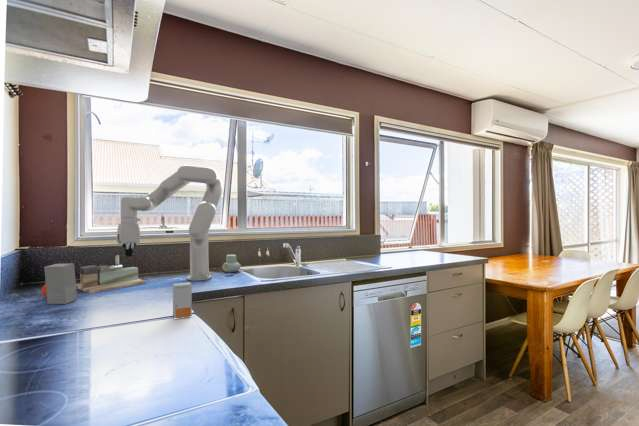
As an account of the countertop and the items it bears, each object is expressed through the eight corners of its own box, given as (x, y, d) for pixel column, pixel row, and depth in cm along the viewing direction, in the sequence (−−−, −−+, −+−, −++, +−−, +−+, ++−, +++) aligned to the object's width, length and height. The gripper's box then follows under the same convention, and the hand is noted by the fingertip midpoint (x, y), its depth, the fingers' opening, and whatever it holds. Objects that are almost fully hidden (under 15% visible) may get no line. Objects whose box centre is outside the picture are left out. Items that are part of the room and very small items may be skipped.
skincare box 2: (173, 320, 123) (173, 285, 122) (172, 316, 127) (172, 283, 126) (192, 317, 126) (191, 284, 125) (190, 314, 129) (190, 281, 129)
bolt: (122, 268, 178) (122, 254, 178) (100, 271, 170) (100, 257, 170) (120, 268, 179) (120, 254, 179) (99, 271, 172) (98, 256, 171)
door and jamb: (145, 283, 179) (145, 262, 179) (90, 293, 160) (89, 269, 159) (129, 279, 190) (128, 258, 190) (75, 287, 171) (75, 265, 170)
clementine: (60, 298, 151) (60, 282, 151) (40, 301, 147) (39, 284, 147) (62, 294, 158) (62, 278, 157) (43, 296, 154) (42, 280, 154)
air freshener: (242, 271, 212) (242, 255, 212) (231, 273, 205) (231, 256, 205) (231, 269, 219) (231, 253, 218) (220, 271, 212) (220, 255, 212)
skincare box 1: (77, 300, 148) (77, 262, 148) (63, 305, 141) (63, 265, 141) (59, 299, 149) (58, 262, 149) (44, 304, 142) (43, 265, 142)
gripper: (140, 220, 190) (139, 254, 190) (110, 221, 178) (109, 257, 178) (147, 220, 185) (146, 255, 185) (116, 221, 173) (116, 258, 174)
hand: (128, 256), depth 182 cm, fingers closed
